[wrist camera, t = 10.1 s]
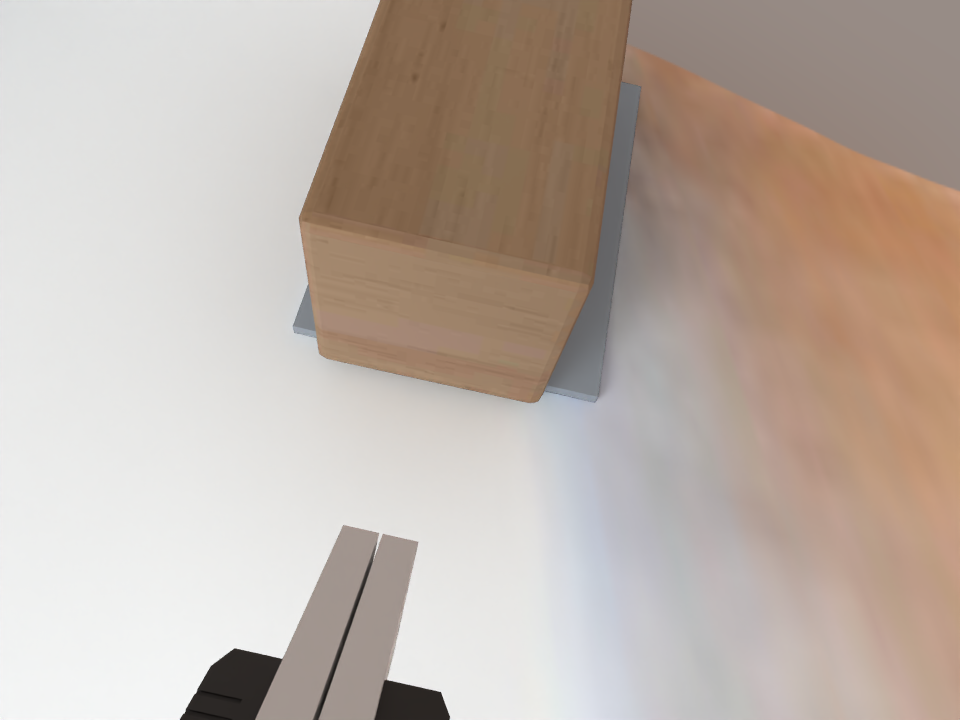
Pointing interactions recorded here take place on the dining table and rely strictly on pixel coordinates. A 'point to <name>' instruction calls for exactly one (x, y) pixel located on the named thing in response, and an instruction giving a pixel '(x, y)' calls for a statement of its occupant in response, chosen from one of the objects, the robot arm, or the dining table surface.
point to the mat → (588, 337)
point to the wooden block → (466, 190)
